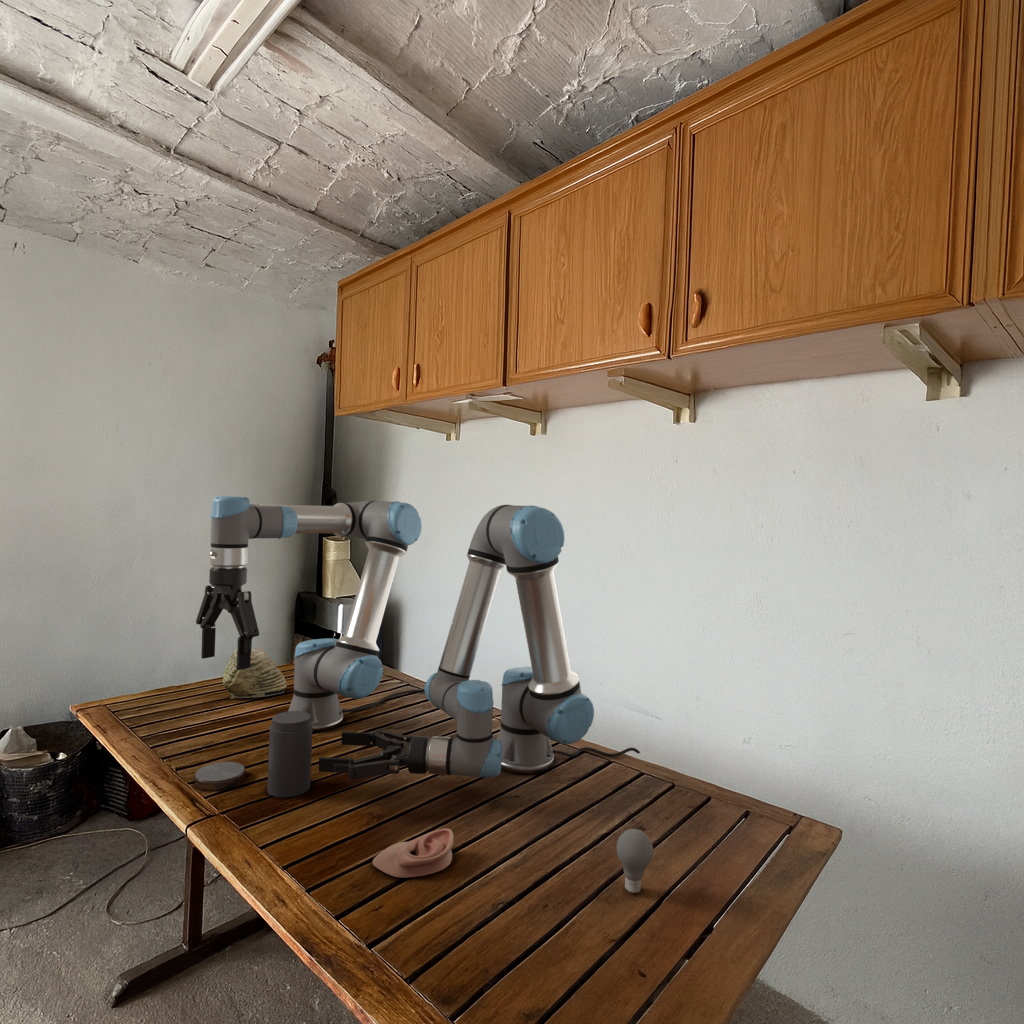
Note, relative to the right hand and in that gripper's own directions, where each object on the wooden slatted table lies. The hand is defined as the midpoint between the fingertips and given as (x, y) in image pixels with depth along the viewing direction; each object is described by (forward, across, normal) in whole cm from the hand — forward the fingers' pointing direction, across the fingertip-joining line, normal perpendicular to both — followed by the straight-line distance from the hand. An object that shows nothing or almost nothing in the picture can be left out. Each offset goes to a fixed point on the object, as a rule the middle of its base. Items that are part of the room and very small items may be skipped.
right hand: (331, 750), depth 136 cm
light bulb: (-61, -26, -10) cm, 67 cm away
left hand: (+25, +2, +18) cm, 30 cm away
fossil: (+46, +59, -9) cm, 75 cm away
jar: (+9, 0, -9) cm, 13 cm away
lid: (+26, +1, -7) cm, 26 cm away
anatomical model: (-23, -23, -9) cm, 34 cm away
